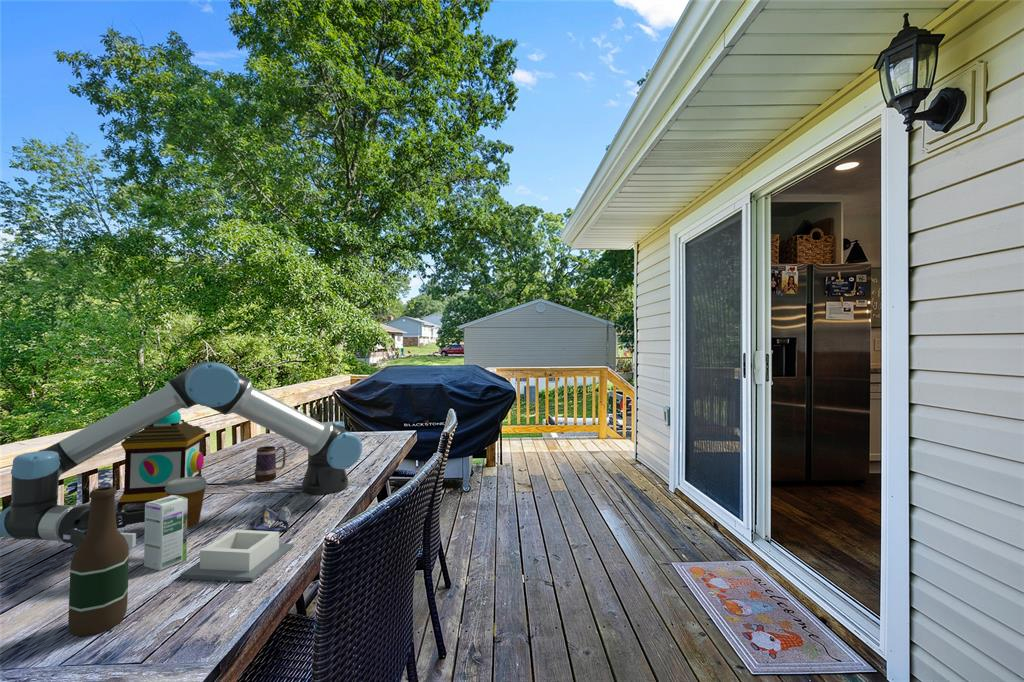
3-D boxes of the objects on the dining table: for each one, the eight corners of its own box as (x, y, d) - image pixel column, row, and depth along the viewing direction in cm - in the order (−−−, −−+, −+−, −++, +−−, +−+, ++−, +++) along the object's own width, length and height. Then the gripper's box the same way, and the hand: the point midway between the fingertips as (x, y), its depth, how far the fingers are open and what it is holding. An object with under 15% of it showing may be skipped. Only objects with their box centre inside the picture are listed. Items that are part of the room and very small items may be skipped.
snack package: (307, 520, 129) (272, 516, 132) (306, 500, 128) (270, 495, 131) (279, 545, 118) (240, 539, 120) (277, 523, 117) (238, 517, 119)
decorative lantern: (211, 489, 153) (214, 402, 154) (190, 510, 134) (193, 410, 135) (140, 494, 147) (143, 403, 147) (108, 516, 128) (111, 411, 128)
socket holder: (231, 545, 112) (232, 525, 112) (293, 548, 111) (294, 528, 111) (180, 578, 96) (180, 554, 96) (252, 582, 95) (253, 558, 95)
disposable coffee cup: (183, 533, 118) (185, 487, 118) (154, 529, 120) (155, 484, 120) (214, 520, 127) (215, 477, 127) (186, 516, 129) (187, 475, 129)
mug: (254, 483, 161) (255, 449, 162) (253, 478, 167) (254, 445, 168) (286, 479, 167) (287, 446, 167) (284, 474, 173) (285, 443, 173)
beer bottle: (93, 611, 83) (98, 482, 84) (138, 610, 84) (142, 482, 84) (54, 639, 76) (59, 495, 76) (103, 637, 76) (108, 495, 77)
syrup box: (160, 571, 98) (162, 505, 98) (142, 566, 100) (144, 501, 100) (186, 560, 104) (188, 497, 104) (169, 555, 106) (171, 493, 106)
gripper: (123, 519, 115) (202, 522, 114) (8, 566, 90) (107, 571, 89) (124, 489, 115) (203, 493, 114) (10, 528, 91) (109, 533, 89)
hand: (161, 527), depth 102 cm, fingers open, 13 cm apart
